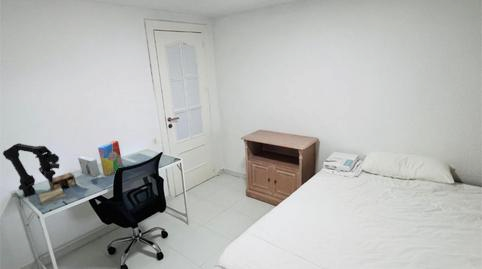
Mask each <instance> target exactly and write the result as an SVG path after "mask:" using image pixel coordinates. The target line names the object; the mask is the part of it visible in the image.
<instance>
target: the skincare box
mask: <svg viewBox="0 0 482 269" xmlns="http://www.w3.org/2000/svg"><path fill="white" fill-rule="evenodd" d="M77 159H78V163H79V167H80V170H81V173H83V174H85V175H89V176H92V177H97V176H99V175H101V172H100V168H99V165H98V162H97V161H98V160H97V158H93V157H89V156H87V155H86V156H85V155H81V156H78V158H77Z"/></svg>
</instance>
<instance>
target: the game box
mask: <svg viewBox="0 0 482 269" xmlns="http://www.w3.org/2000/svg"><path fill="white" fill-rule="evenodd" d="M97 149H98V154H99V158H100V163H101V169H102V173H103V176H110V175H111V174H113V173H115V172H116V171H117V170H116V169H117V168H119V167H121V168H123V166H124V165H123V160H122V156H121V150H120V145H119V141H118V140H113V141H110V142H108V143H106V144H103V145H101V146H99V147H97ZM115 170H116V171H115Z"/></svg>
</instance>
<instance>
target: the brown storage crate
mask: <svg viewBox="0 0 482 269" xmlns="http://www.w3.org/2000/svg"><path fill="white" fill-rule="evenodd" d="M47 180H48V179H47ZM48 184H49V187H50V191H53V190H56V189H59V188H62V187H64V186H66V187H68V188H69V189H70V188H73V187H75V186H77V181H76V177H75V175H74V174H73V173H72V172H68V173H65V174H60V175H58V176H55V177H53V181H52V182H50V181H49V180H48ZM62 189H63V188H62Z"/></svg>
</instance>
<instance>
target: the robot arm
mask: <svg viewBox="0 0 482 269" xmlns="http://www.w3.org/2000/svg"><path fill="white" fill-rule="evenodd" d="M19 151H23V152H28V153H32V154H33V155H36V156H35V157H34V158H35V159H36V158H37V159H38V161H39V166H40V167H39V168H38V170H39V171H38V172H40V173H41V175H42V176H43V177H44V178H45V179H46V180H49V181H50V182H52V181H53V178H54V176H55V175H56V171H55V170H53V169H60V163H59V161H60V157H59V156H58V155H57V154H56V153H53V152H52V151H51V150H50V149H48V147H47V146H45V145H37V146H35V145H34V146H33V145H30V144H29V145H28V144H22V143H16V144H13V145H12V146H10V147H9V148H8V149H5V150H4V151H3V152H2V155H3V156H4V158H5V160H6V159H7V160H8V161H9V162H11V164H12V166H13V167H14V169H15V171H16V172H17V175H18V176H19V186H18V190H19V191H22V193H23V196H24V197H25V198H26V197H29V196H32V195H33V196H34V195H35V194H36V190H35V187H34V186H35V184H36V178H34V175H33V174H32V175H30V174H28V172H27V170H26V168H25V166H24V164H23V163H22V161H21V160H20V152H19ZM49 181H48V182H49Z"/></svg>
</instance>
